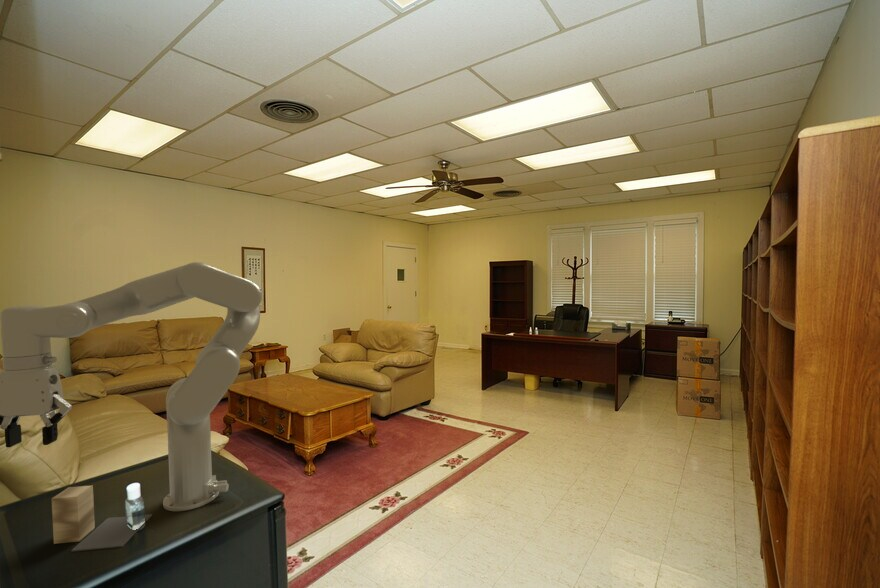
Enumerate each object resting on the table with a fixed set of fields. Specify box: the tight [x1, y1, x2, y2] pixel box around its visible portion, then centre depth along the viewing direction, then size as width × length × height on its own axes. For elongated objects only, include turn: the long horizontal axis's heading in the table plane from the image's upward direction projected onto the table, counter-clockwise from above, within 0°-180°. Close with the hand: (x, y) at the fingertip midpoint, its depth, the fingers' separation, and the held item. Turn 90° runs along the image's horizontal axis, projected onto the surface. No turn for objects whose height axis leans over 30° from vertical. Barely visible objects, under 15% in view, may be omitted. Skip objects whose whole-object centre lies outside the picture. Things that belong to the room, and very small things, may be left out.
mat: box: [71, 513, 153, 552], centre depth 95 cm, size 10×12×1 cm
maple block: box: [51, 485, 96, 545], centre depth 93 cm, size 5×5×10 cm
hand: (32, 443), depth 91 cm, fingers open, 6 cm apart
